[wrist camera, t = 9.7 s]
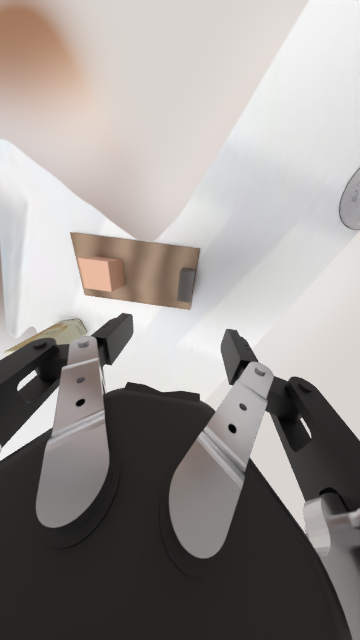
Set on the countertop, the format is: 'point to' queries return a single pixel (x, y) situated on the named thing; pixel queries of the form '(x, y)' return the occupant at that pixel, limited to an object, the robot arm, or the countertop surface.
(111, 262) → the terracotta block
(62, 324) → the skincare box
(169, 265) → the walnut strip
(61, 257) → the countertop surface
